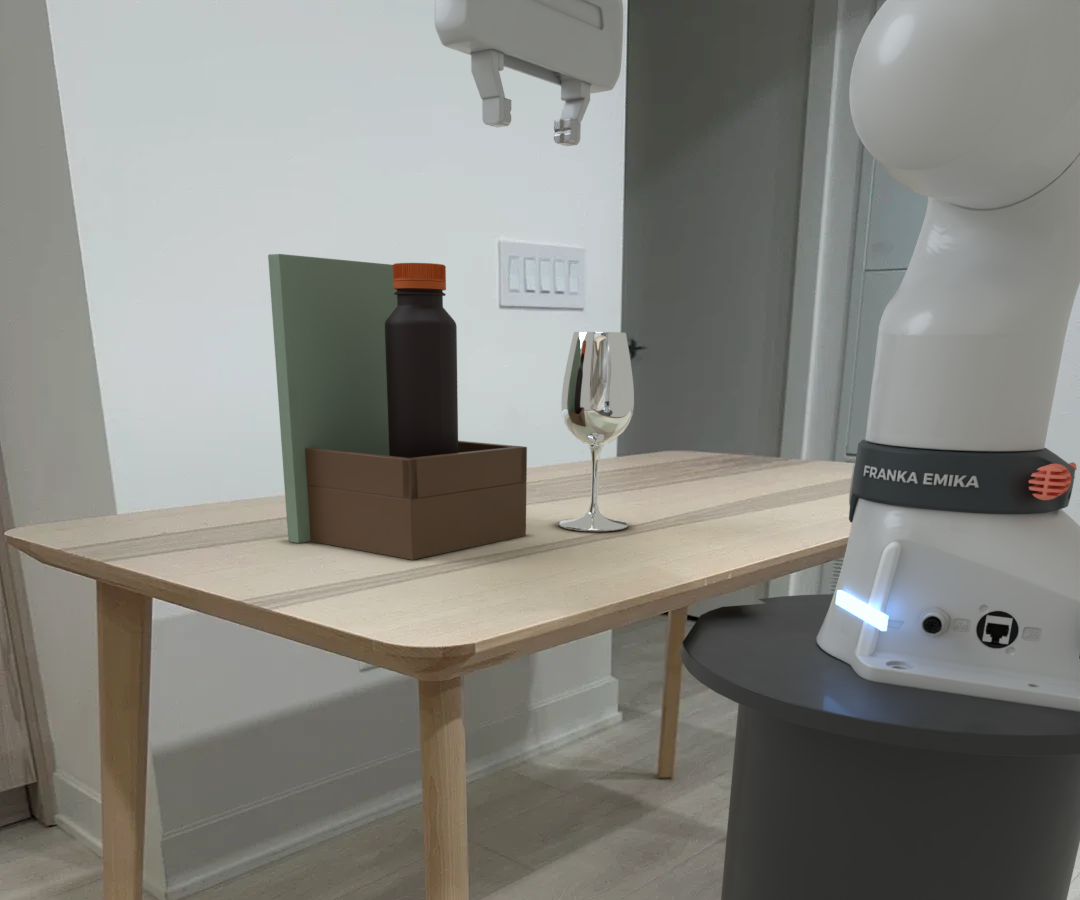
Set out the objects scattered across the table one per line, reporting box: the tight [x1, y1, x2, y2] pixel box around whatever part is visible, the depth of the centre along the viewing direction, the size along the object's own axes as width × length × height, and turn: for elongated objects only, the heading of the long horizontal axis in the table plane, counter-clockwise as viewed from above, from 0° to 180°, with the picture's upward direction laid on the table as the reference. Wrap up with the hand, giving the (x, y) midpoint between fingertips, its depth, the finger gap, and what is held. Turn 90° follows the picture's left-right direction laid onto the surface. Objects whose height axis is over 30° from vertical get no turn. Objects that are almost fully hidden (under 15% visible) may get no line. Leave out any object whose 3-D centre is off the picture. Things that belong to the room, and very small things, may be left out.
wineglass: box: [558, 331, 635, 533], centre depth 108 cm, size 8×8×20 cm
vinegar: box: [385, 262, 459, 458], centre depth 97 cm, size 7×7×20 cm
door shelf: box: [267, 253, 528, 561], centre depth 99 cm, size 16×20×26 cm
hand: (533, 135), depth 83 cm, fingers open, 8 cm apart
